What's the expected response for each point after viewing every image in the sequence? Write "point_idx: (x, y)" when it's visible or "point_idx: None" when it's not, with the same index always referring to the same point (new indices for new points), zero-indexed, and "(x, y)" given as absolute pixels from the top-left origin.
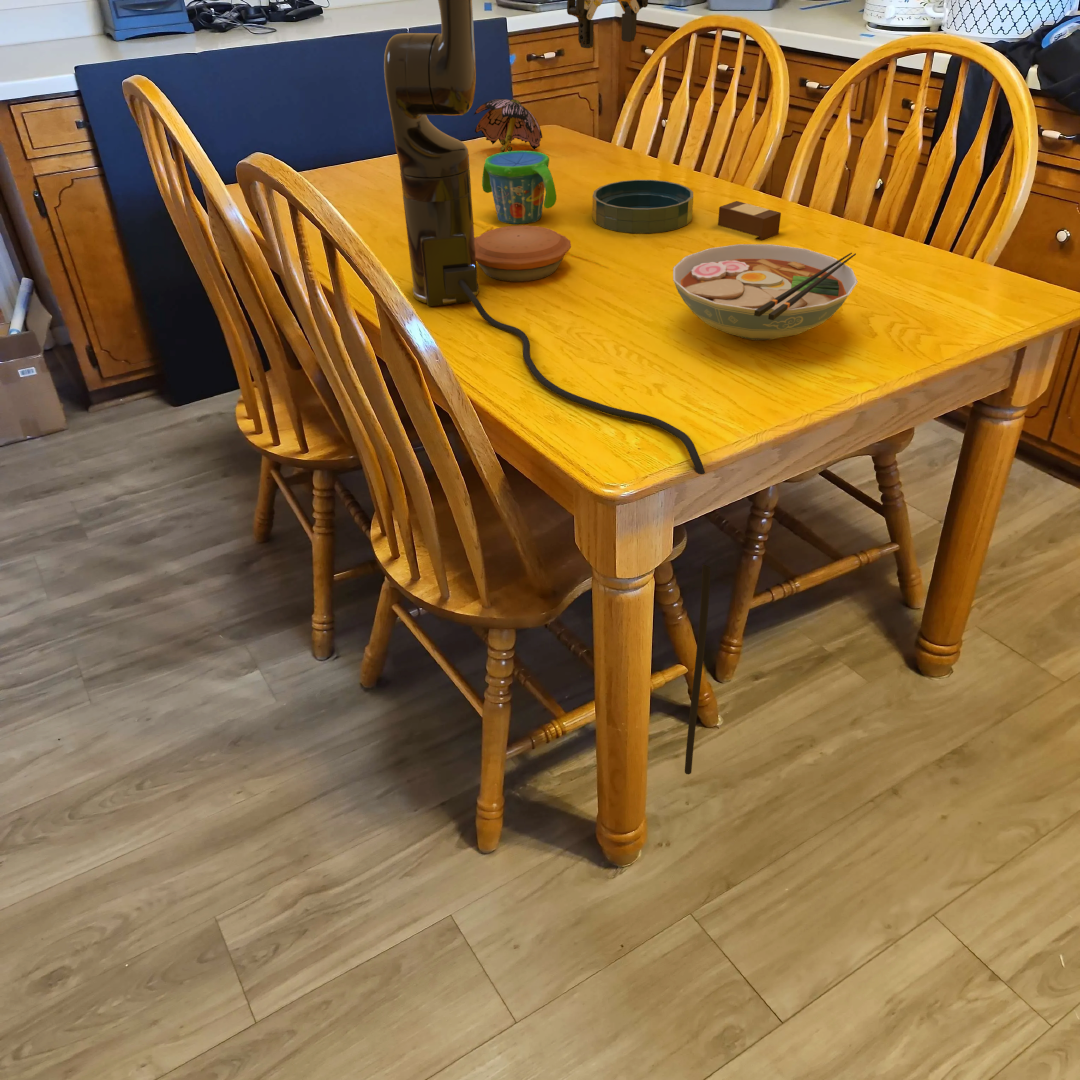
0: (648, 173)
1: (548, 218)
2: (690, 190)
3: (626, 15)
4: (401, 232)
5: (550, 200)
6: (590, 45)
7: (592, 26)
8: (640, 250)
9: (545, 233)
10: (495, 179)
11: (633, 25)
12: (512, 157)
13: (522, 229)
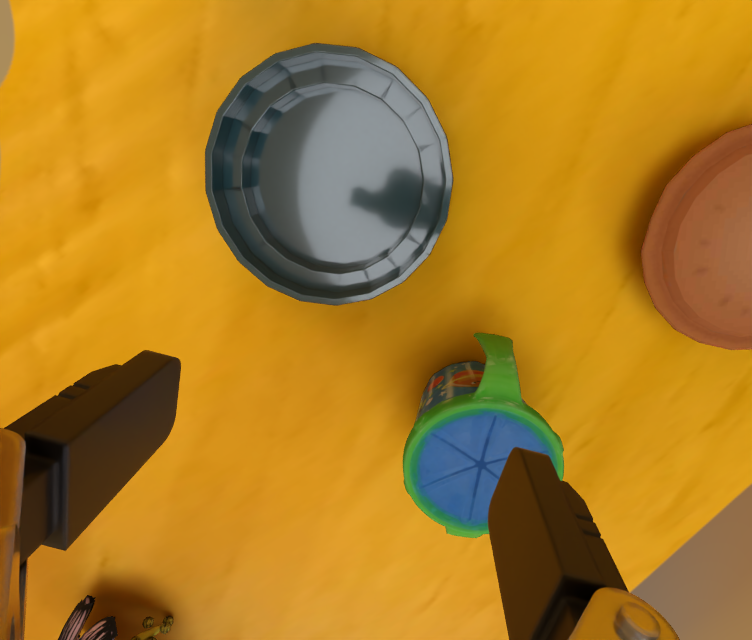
0: (63, 345)
1: (427, 358)
2: (235, 90)
3: (75, 496)
4: (625, 529)
5: (496, 336)
6: (543, 455)
7: (563, 536)
8: (515, 69)
9: (723, 209)
10: None
11: (104, 392)
12: (454, 494)
13: (718, 270)
